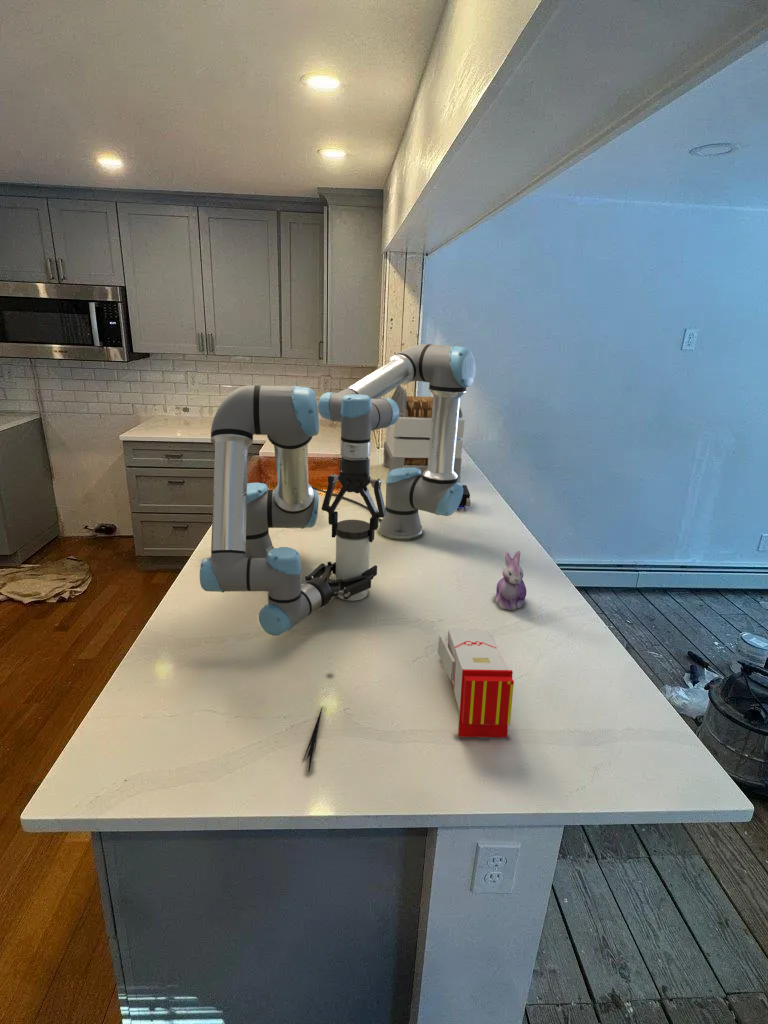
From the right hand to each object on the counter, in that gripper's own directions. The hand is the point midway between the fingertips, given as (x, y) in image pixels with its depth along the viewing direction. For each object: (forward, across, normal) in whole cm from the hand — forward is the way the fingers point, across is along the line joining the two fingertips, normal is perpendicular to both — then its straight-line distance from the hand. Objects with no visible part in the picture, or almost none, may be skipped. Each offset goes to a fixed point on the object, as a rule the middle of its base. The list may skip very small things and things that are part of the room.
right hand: (352, 538), depth 152 cm
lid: (-3, 0, 0) cm, 3 cm away
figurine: (+16, +43, +7) cm, 47 cm away
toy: (+16, +36, -35) cm, 52 cm away
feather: (+16, +8, -51) cm, 54 cm away
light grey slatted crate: (+16, -2, +127) cm, 128 cm away
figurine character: (+16, +22, +84) cm, 89 cm away
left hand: (+10, +2, +4) cm, 11 cm away
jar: (+16, 0, 0) cm, 16 cm away
